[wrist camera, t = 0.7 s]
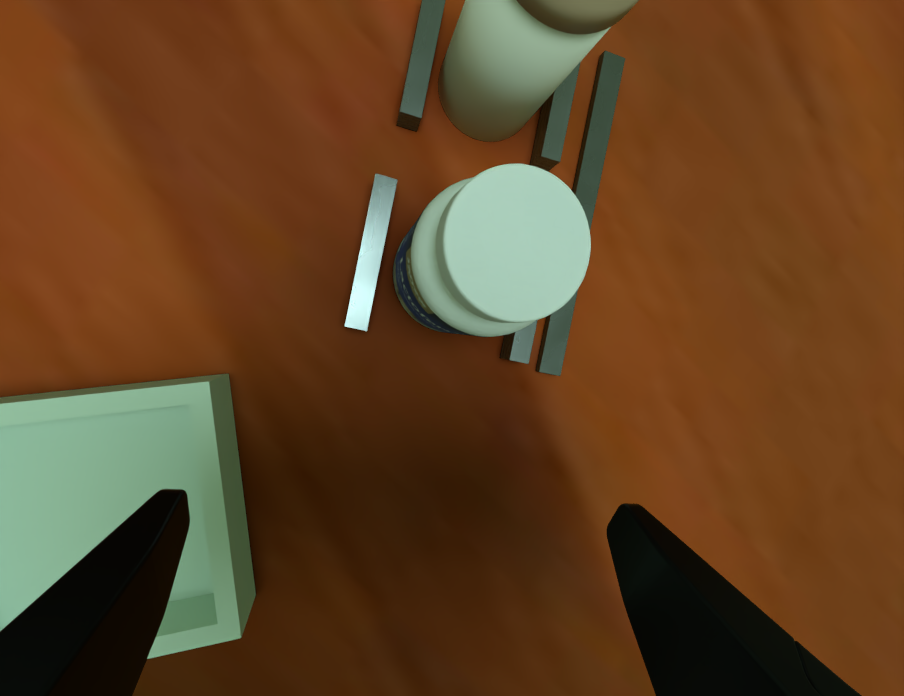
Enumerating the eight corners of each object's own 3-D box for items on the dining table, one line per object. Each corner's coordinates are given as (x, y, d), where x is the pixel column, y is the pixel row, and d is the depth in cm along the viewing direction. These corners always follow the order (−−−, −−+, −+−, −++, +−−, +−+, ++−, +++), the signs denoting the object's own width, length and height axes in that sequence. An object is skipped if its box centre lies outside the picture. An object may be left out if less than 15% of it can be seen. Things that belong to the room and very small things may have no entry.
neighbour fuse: (538, 143, 24) (675, 14, 14) (441, 144, 23) (513, 3, 13) (531, 39, 24) (665, -171, 14) (431, 34, 22) (498, -197, 12)
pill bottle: (367, 281, 22) (382, 247, 13) (441, 194, 23) (511, 99, 13) (455, 356, 23) (531, 378, 14) (524, 271, 24) (643, 236, 14)
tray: (255, 594, 22) (241, 638, 19) (-10, 649, 20) (-75, 708, 17) (228, 373, 21) (208, 381, 18) (-51, 402, 19) (-127, 417, 16)
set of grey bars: (555, 374, 25) (569, 378, 23) (343, 332, 22) (343, 333, 21) (619, 63, 25) (636, 47, 23) (414, -16, 22) (418, -40, 21)
